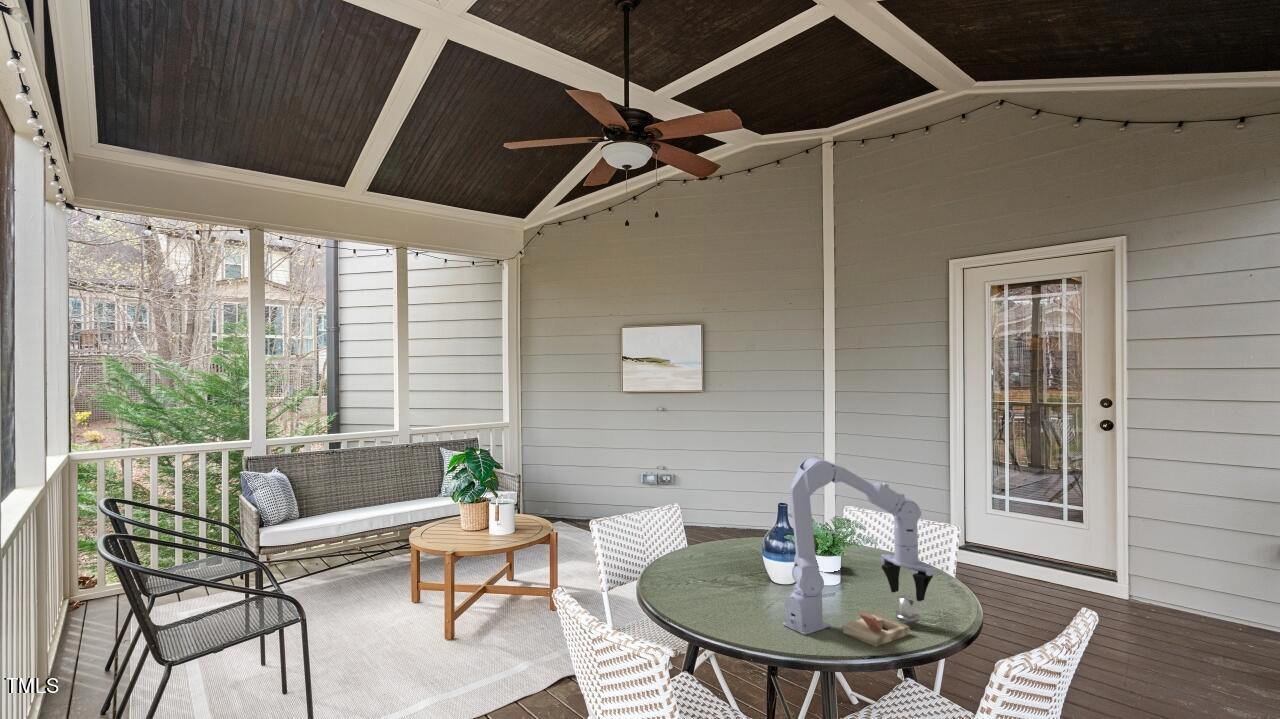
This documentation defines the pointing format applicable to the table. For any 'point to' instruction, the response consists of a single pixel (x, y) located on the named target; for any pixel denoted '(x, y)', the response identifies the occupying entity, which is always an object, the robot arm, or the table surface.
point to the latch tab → (871, 621)
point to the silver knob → (907, 611)
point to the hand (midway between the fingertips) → (907, 595)
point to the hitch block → (876, 631)
